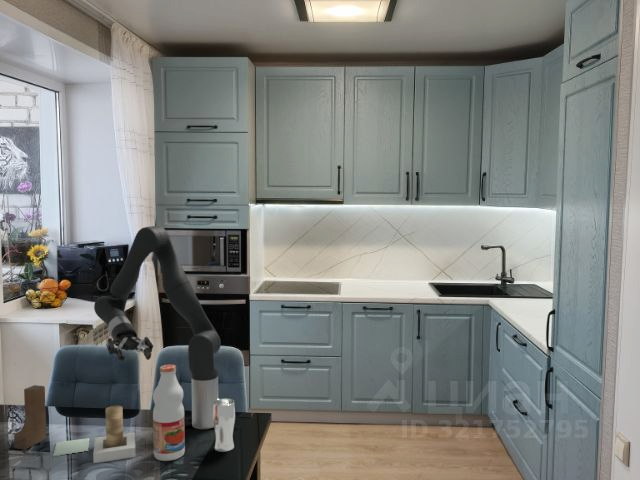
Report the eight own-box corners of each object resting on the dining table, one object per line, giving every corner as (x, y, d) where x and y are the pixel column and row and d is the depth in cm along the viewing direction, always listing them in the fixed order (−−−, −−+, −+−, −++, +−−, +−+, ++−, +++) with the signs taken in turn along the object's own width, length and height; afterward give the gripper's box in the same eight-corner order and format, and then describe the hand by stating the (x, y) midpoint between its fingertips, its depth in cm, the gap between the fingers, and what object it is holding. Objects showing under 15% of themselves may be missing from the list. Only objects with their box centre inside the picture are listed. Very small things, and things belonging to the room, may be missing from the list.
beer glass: (239, 444, 175) (238, 399, 174) (228, 453, 169) (228, 407, 168) (220, 441, 178) (219, 397, 177) (209, 450, 171) (208, 404, 170)
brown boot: (25, 450, 171) (23, 394, 170) (13, 448, 173) (11, 393, 172) (46, 438, 180) (45, 385, 179) (36, 437, 181) (34, 384, 180)
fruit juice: (167, 446, 174) (165, 360, 173) (191, 451, 171) (189, 364, 169) (147, 458, 166) (145, 368, 164) (171, 464, 162) (170, 372, 160)
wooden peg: (123, 447, 173) (122, 404, 173) (123, 453, 169) (122, 410, 168) (106, 449, 172) (105, 406, 171) (106, 456, 167) (105, 412, 166)
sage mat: (89, 439, 180) (89, 437, 180) (88, 451, 170) (88, 450, 170) (56, 443, 176) (56, 442, 176) (53, 456, 167) (53, 455, 167)
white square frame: (134, 441, 178) (134, 432, 178) (135, 457, 167) (135, 447, 166) (95, 446, 174) (95, 437, 174) (93, 463, 163) (93, 453, 162)
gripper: (103, 322, 182) (116, 349, 170) (144, 321, 191) (160, 347, 179) (98, 341, 184) (111, 369, 172) (139, 339, 193) (154, 366, 181)
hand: (136, 358), depth 175 cm, fingers open, 8 cm apart
